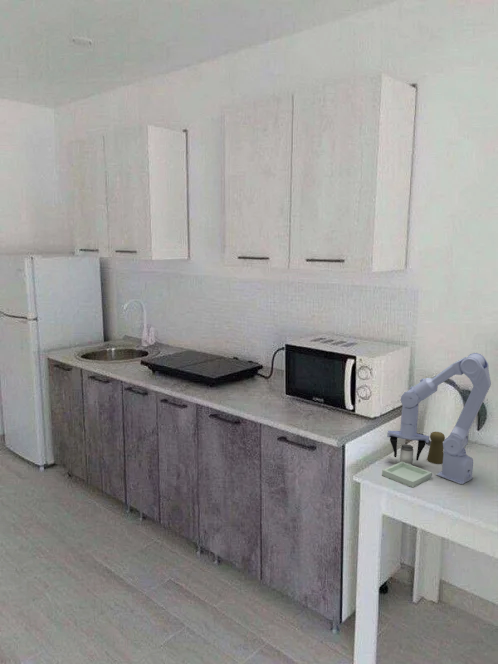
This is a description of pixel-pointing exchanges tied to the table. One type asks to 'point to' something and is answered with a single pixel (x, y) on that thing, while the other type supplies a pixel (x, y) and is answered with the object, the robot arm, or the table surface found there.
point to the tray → (407, 474)
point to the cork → (436, 448)
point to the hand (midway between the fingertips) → (406, 457)
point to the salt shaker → (406, 454)
